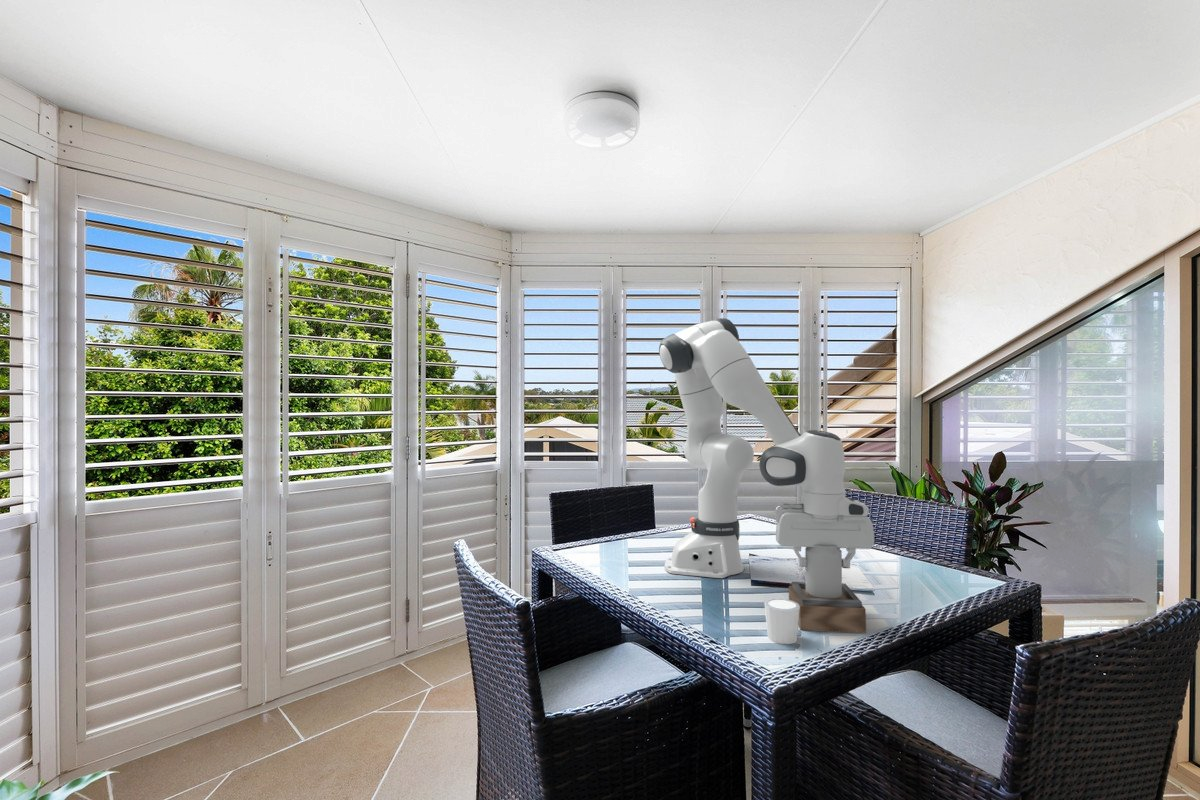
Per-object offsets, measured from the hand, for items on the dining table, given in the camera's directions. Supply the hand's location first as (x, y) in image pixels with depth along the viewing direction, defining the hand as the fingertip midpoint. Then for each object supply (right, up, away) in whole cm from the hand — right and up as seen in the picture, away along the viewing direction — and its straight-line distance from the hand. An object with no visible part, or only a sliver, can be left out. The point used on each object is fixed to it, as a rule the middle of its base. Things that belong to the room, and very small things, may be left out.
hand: (823, 566), depth 123 cm
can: (0, -7, 0) cm, 7 cm away
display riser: (0, -12, 0) cm, 12 cm away
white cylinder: (-12, -12, -9) cm, 19 cm away
